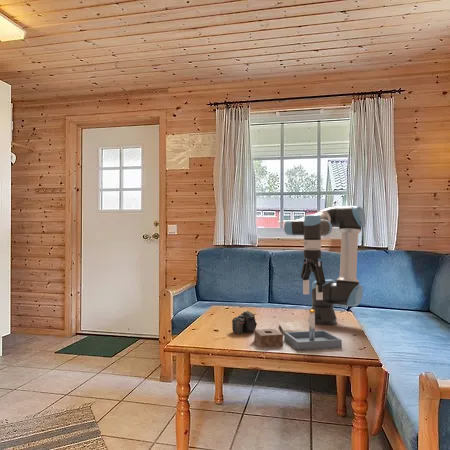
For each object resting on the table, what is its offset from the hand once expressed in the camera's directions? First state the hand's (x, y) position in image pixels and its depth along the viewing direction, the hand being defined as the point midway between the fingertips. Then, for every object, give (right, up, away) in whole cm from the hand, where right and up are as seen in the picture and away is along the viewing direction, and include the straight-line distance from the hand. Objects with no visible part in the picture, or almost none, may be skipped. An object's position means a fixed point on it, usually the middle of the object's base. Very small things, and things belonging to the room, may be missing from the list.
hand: (312, 297), depth 165 cm
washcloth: (-5, -22, +23) cm, 32 cm away
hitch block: (-20, -21, -1) cm, 29 cm away
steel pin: (0, -20, -1) cm, 20 cm away
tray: (0, -21, -1) cm, 21 cm away
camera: (-29, -21, +19) cm, 40 cm away
